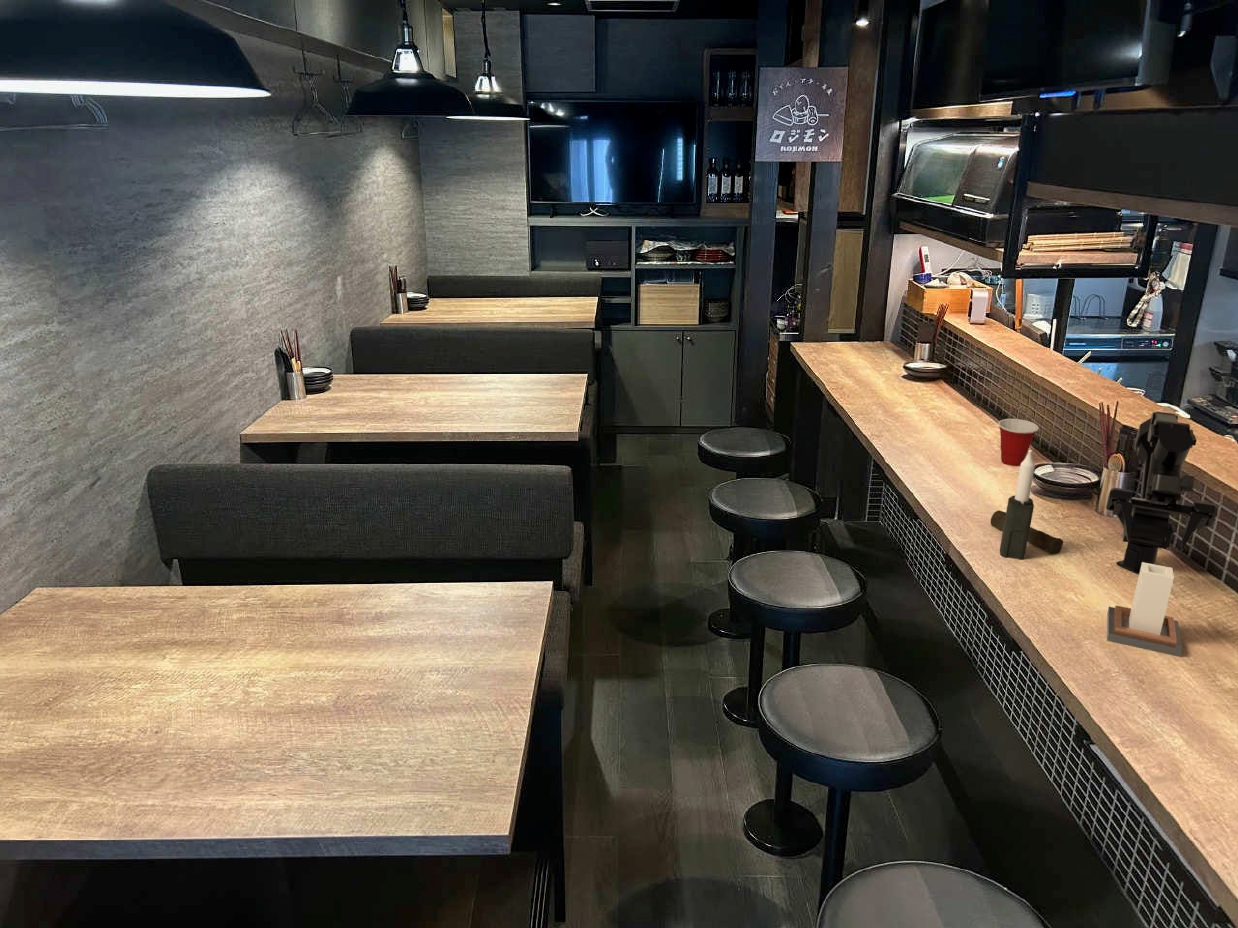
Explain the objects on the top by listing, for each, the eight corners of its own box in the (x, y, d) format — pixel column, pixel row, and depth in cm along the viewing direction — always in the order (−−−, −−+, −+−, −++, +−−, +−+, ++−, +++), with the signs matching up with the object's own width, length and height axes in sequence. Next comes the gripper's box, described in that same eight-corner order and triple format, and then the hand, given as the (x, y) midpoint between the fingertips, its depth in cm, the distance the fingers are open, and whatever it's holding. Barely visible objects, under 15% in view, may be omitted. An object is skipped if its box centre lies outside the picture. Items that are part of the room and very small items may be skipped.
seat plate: (1107, 613, 183) (1111, 592, 182) (1176, 627, 178) (1181, 607, 177) (1107, 640, 173) (1111, 619, 172) (1180, 656, 168) (1185, 634, 167)
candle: (1023, 551, 211) (1042, 447, 202) (1024, 560, 206) (1044, 454, 198) (999, 547, 212) (1017, 444, 204) (1000, 556, 208) (1018, 451, 199)
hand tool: (1062, 554, 210) (1066, 535, 209) (1050, 556, 209) (1053, 537, 207) (998, 524, 227) (1001, 506, 225) (986, 526, 225) (989, 508, 223)
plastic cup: (991, 466, 266) (998, 426, 262) (992, 455, 276) (998, 416, 272) (1032, 471, 263) (1039, 431, 259) (1031, 460, 272) (1038, 421, 268)
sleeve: (1129, 618, 178) (1142, 562, 174) (1158, 624, 176) (1172, 567, 172) (1129, 629, 174) (1142, 572, 170) (1159, 636, 172) (1173, 578, 168)
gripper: (1118, 449, 185) (1107, 519, 179) (1227, 465, 177) (1219, 538, 171) (1111, 474, 194) (1100, 541, 188) (1214, 490, 186) (1206, 561, 180)
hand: (1154, 545), depth 182 cm, fingers open, 9 cm apart
